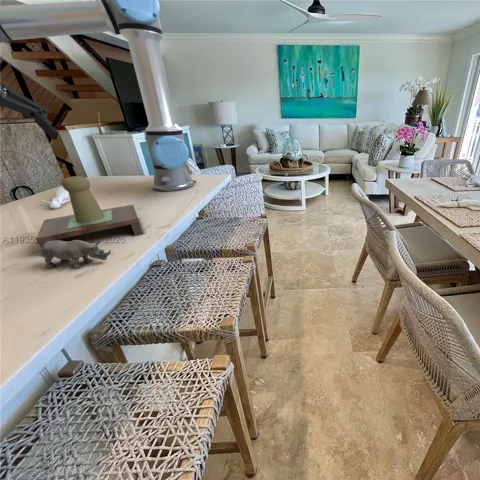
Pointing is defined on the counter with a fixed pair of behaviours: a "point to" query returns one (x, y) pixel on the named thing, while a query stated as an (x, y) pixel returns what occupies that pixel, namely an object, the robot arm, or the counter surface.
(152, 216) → the counter surface
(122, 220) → the shelf
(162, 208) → the counter surface
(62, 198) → the woman figurine
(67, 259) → the rhino figurine
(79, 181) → the cork
